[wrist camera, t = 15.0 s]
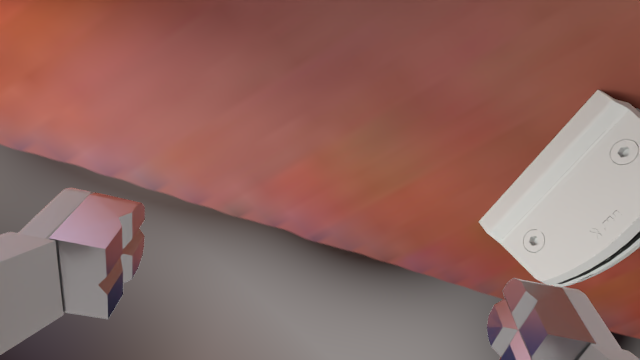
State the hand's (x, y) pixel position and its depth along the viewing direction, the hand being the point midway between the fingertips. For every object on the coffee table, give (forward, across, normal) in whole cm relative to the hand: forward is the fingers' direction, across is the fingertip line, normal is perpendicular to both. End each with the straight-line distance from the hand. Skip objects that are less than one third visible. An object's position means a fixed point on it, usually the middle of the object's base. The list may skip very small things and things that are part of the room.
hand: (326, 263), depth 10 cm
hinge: (+30, -24, +10) cm, 40 cm away
